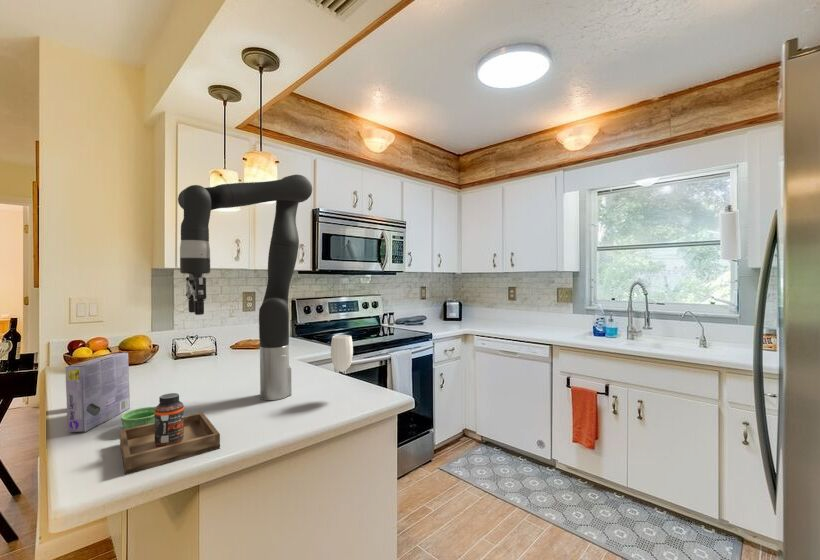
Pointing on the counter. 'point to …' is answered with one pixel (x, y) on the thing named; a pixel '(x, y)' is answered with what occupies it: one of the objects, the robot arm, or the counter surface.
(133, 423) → the ramekin
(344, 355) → the cup
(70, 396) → the cake pan box
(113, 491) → the counter surface
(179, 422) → the supplement bottle
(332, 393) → the counter surface
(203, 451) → the walnut tray
